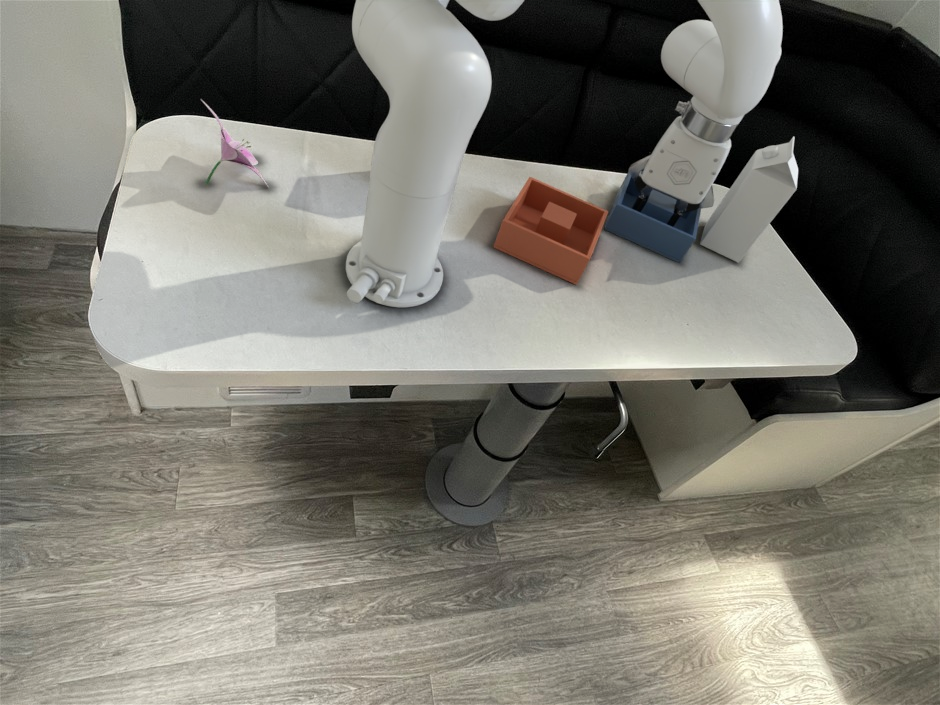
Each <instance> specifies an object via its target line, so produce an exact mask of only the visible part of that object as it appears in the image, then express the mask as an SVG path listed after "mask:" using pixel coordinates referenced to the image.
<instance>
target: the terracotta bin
mask: <svg viewBox="0 0 940 705" xmlns="http://www.w3.org/2000/svg"><path fill="white" fill-rule="evenodd" d="M549 202H552V203H554V204H556V205H558V206H561V207H563V208H565V209H567V210H570V211H572V212H574V213H576V214H577V215H576V217H575V220H574V222H573V224H572V226H571V228H570V231H569V233H568V235H567V237H566V239H565V241H564V243H563V244H560V243H558V242H556V241H554V240H551V239H549V238H547V237H545V236H543V235H540V234H538V233H536V232H535V231H536V228H537V226H538V223H539V221H540V219H541V216H542V214H543V213H544V211H545V209H546V207H547V205H548V203H549ZM608 214H609V211H608V210H607V209H604V208H602V207H600V206H598V205H595V204H594V203H591V202H589V201H586V200H584V199H581V198H579V197H577V196H575V195H573V194H571V193H568V192H567V191H564V190H562V189H560V188H557V187H554V186H552V185H550V184H548V183H546V182H543V181H541V180H538V179H537V178H534V177H532V176H529V177H528V178H527V180H526V182H525V184H523V187H522V188H521V190H520V191H519V193H518V195H517V196H516V198H515V199H514V201H513V202H512V204H511V206H510V207H509V209H508V211H507V213H506V214H505V216H504V218H503V219H502V220H501V221H502V222H501V224H500V227H499V230H498V232H497V236H496V238H495V241H494V244H493V249H496V250H498V251H500V252H503V253H505V254H506V255H509V256H510V257H511V256H512V257H514V258H516V259H518V260H519V261H522V262H524V263H527V264H529V265H532V266H534V267H535V268H538V269H540V270H542V271H544V272H547V273H549V274H551V275H553V276H555V277H558V278H560V279H562V280H565V281H567V282H569V283H571V284H573V285H576V286H577V285H578V283H579V281H580V279H581V278H582V275H583V274H584V272H585V270H586V268H587V266H588V264H589V262H590V261H591V258H592V255H593V253H594V250H595V249H596V245H597V243H598V240H599V237H600V235H601V232H602V230H603V227H604V226H605V225H604V224H605V223H606V221H607V218H608Z"/></svg>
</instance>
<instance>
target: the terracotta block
mask: <svg viewBox="0 0 940 705" xmlns="http://www.w3.org/2000/svg"><path fill="white" fill-rule="evenodd" d="M576 215H577V214H576V213H574V212H572V211H570V210H567V209H565V208H563V207H561V206H558V205H556V204H554V203H552V202H549V203H548V205H547V207H546V209H545V211H544V213H543V214H542V216H541V219H540V221H539V223H538V226H537V228H536V231H535V232H536V233H538V234H540V235H543V236H545V237H547V238H549V239H551V240H554V241H556V242H558V243H560V244H563V243H564V241H565V239H566V237H567V235H568V233H569V231H570V228H571V226H572V224H573V222H574V220H575V217H576Z"/></svg>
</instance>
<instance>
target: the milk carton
mask: <svg viewBox="0 0 940 705" xmlns="http://www.w3.org/2000/svg"><path fill="white" fill-rule="evenodd" d="M794 147H795V136H792V138H791V139H790V140H789V141H788V142H784V143H780V144H776V145H774V144H773V145H768V146H766V147H764V148H759V149H757V150H755V151H754V152H753V154H752V156H751V157H750V159H749V160H748V162H747V163H746V165H745V166H744V167H743V169H742V170H741V172H740V173H739V175H738V176H737V178H736V179H735V180H734V182H733V184H732V185H731V186H730V188H729V189H728V190H727V192H726V194H725V195H724V196H723V198H722V199H721V201H720V202H719V204H718V205H717V207H716V208H715V209H714V211H713V213H712V214H711V216H710V217H709V218H708V219H707V221H706V223H705V225H704V228H703V231H702V234H701V238H700V240H699V245H700V246H703V247H704V248H707V249H709V250H711V251H713V252H715V253H717V254H719V255H721V256H723V257H725V258H727V259H730V260H732V261H734V262H735V263H738V264H739V263H740V262H741V261H742V259H743V258H744V257H745V255H746V254H748V252H749V250H750V249H751V248H752V246H754V244H755V243H756V241H758V239H759V238H760V236H761V235H762V234H763V233H764V231H765V230H766V229H767V228H768V226H769V225H770V224H771V222H772V221H773V220H774V219H775V218H776V216H777V215H778V214H779V213H780V211H781V210H782V209H783V207H784V206H785V205H786V204H787V203H788V201H789V200H790V199H791V197H792V196H793V194H794V193H795V192H796V191H797V190H798V189H797V188H798V178H799V167H798V164H797V163H798V162H797V160H796V158H795V154H794Z"/></svg>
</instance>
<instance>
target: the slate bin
mask: <svg viewBox="0 0 940 705" xmlns="http://www.w3.org/2000/svg"><path fill="white" fill-rule="evenodd" d="M643 171H644V170H641V174H643ZM653 190H655V191H658V192H660V193H662V194H665V195H667V196H669V197H671V198H674V199H676V204H678V203H680V199H677V198H675V197H673V196H670V195H668V194H666V193H664V192H661V191H659V190H657V189H655V188H654V189H653ZM638 196H639V193H638V190H637V187H636V185H635V181H634V179H633V178H632V176H631V175H630V173H629V171H628V172H627V173H626V176H625V177H624V180H623V181H622V183H621V185H620V187H619V189H618V192H617V193H616V196H615V199H614V202H613V204H612V207H611V209H610V212H609V215H608V216H607V219H606V221H605V225H604V228H603V229H604V230H605V231H608V232H609V233H611V234H613V235H616V236H618V237H620V238H622V239H624V240H627V241H629V242H632V243H634V244H636V245H638V246H640V247H643V248H645V249H647V250H649V251H652V252H655V253H657V254H659V255H660V256H662V257H666V258H667V259H670V260H673V261H675V262H677V263H679V264H680V263H681V262H682V260H683V259H684V257H685V256H686V254H687V253H688V251H689V250H690V248H691V247H692V245H693V244H694V243H695V241H696V239H697V234H698V228H699V223H700V218H701V210H702V209H701V208H699V209H697V210H694V211H691V212H687V213H685V214H684V215H682V216H680V217H679V219H678V220H677V222H676V224H675V225H674V227H672V226H670V225H667V224H665V223H663V222H661V221H658V220H656V219H654V218H652V217H649V216H647V215H645V214H642V213H640V212H638V211H636V210H633V209H632V207H633V205H634V203H635V201H636V200H637V198H638ZM676 204H675V205H676Z"/></svg>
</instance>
